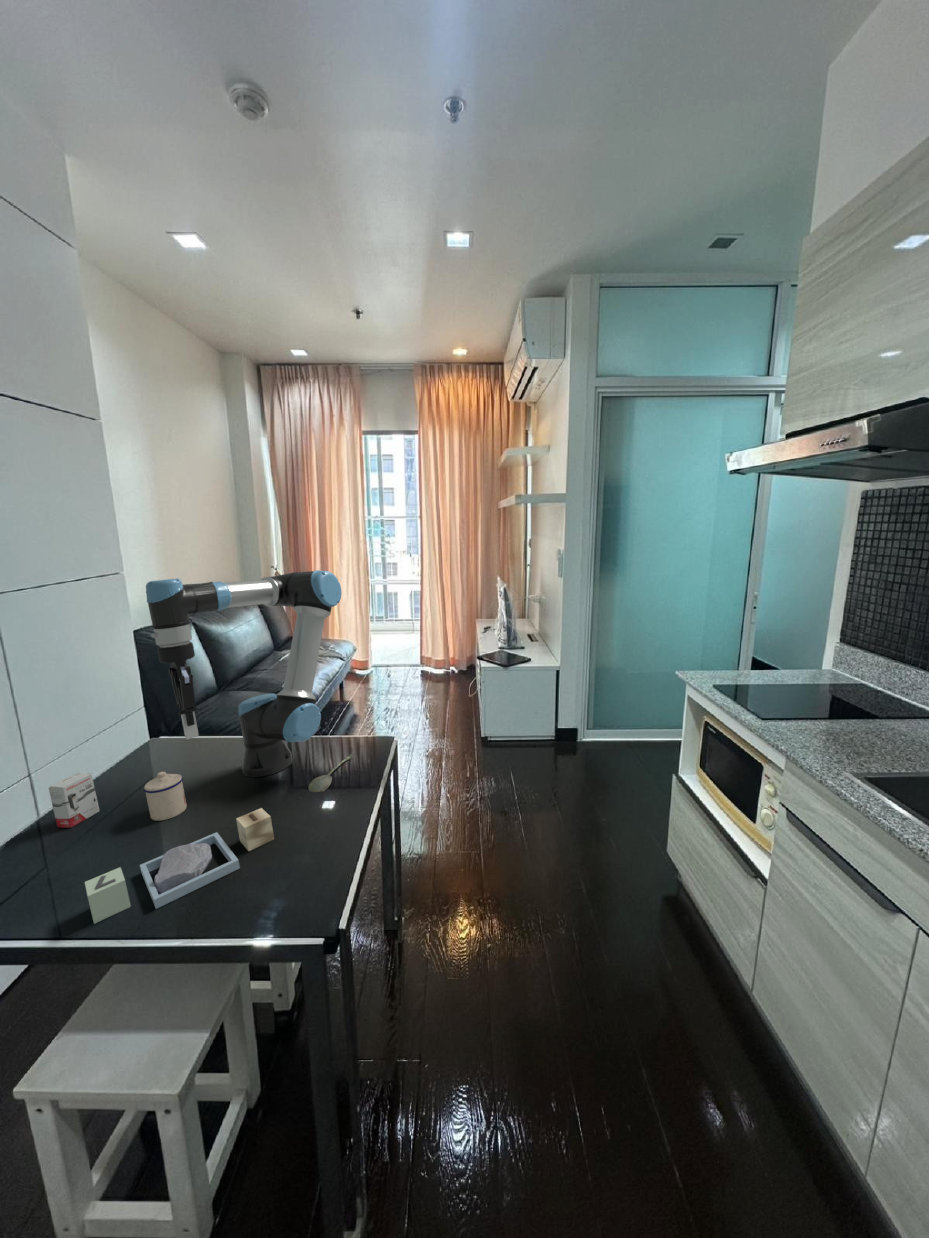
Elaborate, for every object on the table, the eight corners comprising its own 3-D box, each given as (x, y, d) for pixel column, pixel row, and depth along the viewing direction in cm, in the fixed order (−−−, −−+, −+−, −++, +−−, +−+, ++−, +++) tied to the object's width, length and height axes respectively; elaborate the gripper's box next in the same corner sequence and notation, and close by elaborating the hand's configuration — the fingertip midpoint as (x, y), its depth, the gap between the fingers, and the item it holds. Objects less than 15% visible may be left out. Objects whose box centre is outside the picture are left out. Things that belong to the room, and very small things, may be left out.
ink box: (71, 828, 131) (61, 787, 129) (56, 827, 132) (46, 787, 130) (101, 810, 139) (92, 771, 137) (87, 810, 140) (78, 771, 138)
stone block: (213, 858, 115) (164, 863, 111) (214, 839, 114) (165, 843, 111) (206, 892, 104) (152, 899, 100) (207, 871, 103) (152, 877, 100)
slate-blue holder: (218, 839, 119) (216, 831, 119) (240, 868, 107) (238, 859, 107) (141, 873, 109) (139, 864, 108) (155, 908, 97) (154, 899, 96)
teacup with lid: (195, 806, 136) (187, 767, 134) (162, 824, 128) (154, 783, 126) (169, 799, 142) (161, 761, 140) (136, 816, 134) (128, 776, 132)
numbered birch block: (265, 830, 122) (261, 807, 121) (274, 839, 117) (270, 815, 116) (240, 841, 118) (235, 817, 117) (248, 851, 113) (244, 826, 112)
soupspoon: (304, 795, 139) (324, 797, 138) (302, 784, 139) (323, 786, 137) (342, 758, 160) (360, 759, 158) (341, 748, 159) (359, 750, 158)
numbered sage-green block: (126, 892, 103) (120, 865, 102) (130, 906, 98) (124, 879, 97) (90, 908, 99) (84, 881, 98) (94, 924, 94) (87, 895, 93)
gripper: (151, 644, 120) (169, 735, 123) (162, 650, 110) (181, 748, 114) (185, 638, 125) (201, 726, 128) (199, 643, 115) (216, 738, 119)
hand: (192, 736), depth 121 cm, fingers closed
